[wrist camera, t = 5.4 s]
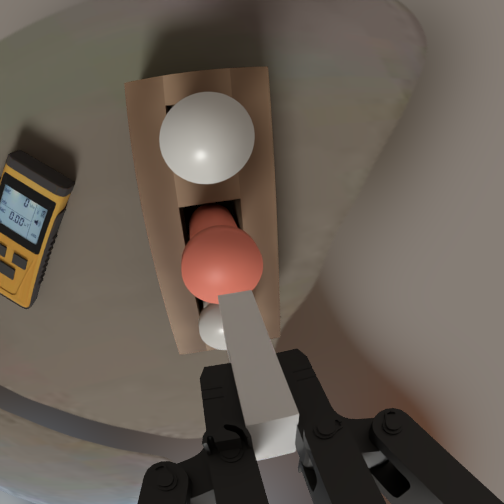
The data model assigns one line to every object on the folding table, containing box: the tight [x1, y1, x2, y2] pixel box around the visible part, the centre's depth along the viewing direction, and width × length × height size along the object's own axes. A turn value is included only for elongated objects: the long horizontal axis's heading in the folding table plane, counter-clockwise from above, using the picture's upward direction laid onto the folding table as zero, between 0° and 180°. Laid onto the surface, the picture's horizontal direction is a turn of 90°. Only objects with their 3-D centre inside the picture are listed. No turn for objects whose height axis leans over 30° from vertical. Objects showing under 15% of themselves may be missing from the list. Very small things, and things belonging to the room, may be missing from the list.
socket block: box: [124, 67, 280, 355], centre depth 25 cm, size 10×24×6 cm, turn 4°
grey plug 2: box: [198, 301, 227, 350], centre depth 27 cm, size 5×5×8 cm
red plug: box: [181, 203, 263, 304], centre depth 21 cm, size 5×5×8 cm
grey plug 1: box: [159, 92, 255, 184], centre depth 17 cm, size 5×5×8 cm
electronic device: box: [0, 150, 75, 309], centre depth 23 cm, size 8×16×3 cm, turn 144°
